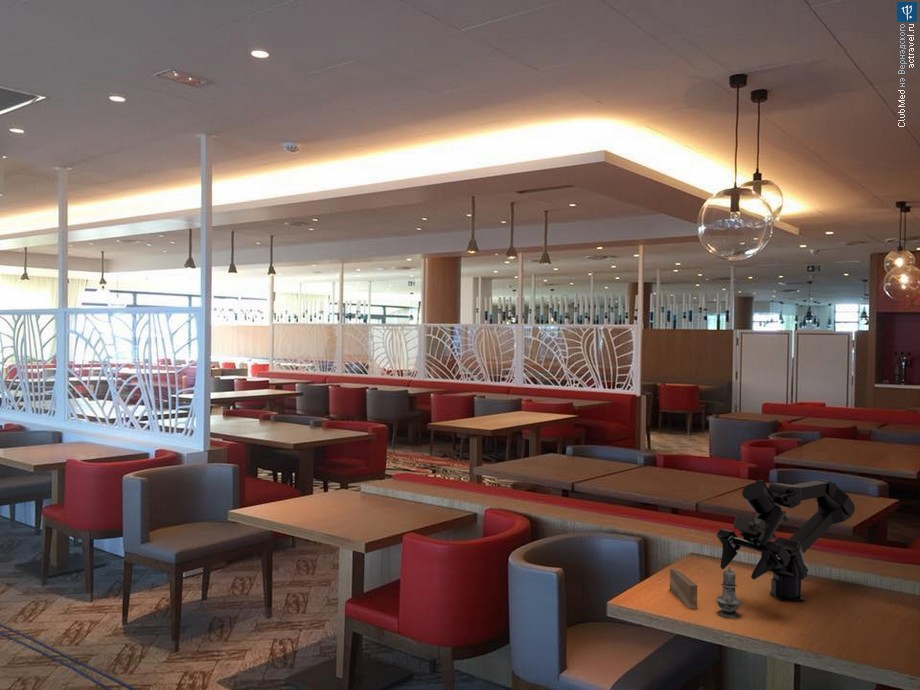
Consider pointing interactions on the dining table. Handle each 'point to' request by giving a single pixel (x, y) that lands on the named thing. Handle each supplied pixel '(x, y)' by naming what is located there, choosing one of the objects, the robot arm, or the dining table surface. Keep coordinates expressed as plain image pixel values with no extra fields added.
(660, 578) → the dining table surface
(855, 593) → the dining table surface
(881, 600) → the dining table surface
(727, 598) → the salt shaker
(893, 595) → the dining table surface
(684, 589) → the walnut board
